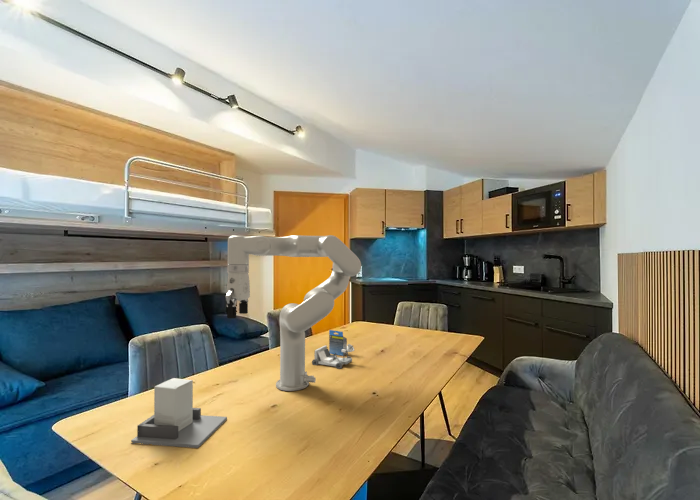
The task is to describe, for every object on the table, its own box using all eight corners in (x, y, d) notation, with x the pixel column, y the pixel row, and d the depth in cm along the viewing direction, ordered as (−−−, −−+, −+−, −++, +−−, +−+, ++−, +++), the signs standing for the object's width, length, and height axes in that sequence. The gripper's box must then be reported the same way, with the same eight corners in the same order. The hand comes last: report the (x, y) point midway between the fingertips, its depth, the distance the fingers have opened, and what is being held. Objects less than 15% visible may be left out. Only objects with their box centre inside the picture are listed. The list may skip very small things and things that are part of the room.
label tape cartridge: (347, 354, 177) (347, 330, 177) (343, 356, 174) (343, 331, 174) (333, 351, 182) (333, 328, 182) (328, 353, 179) (328, 329, 179)
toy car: (357, 342, 163) (346, 348, 153) (357, 363, 163) (346, 371, 153) (324, 339, 171) (311, 344, 160) (323, 358, 171) (311, 365, 160)
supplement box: (193, 422, 102) (194, 379, 103) (174, 434, 95) (174, 388, 95) (173, 419, 104) (173, 377, 105) (152, 431, 97) (153, 385, 98)
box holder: (226, 419, 106) (227, 407, 106) (197, 448, 90) (198, 433, 90) (169, 415, 108) (169, 403, 108) (131, 443, 92) (131, 428, 93)
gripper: (237, 270, 119) (237, 320, 118) (257, 268, 136) (256, 312, 135) (216, 270, 119) (216, 319, 119) (238, 268, 137) (238, 311, 136)
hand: (237, 315), depth 127 cm, fingers open, 9 cm apart
